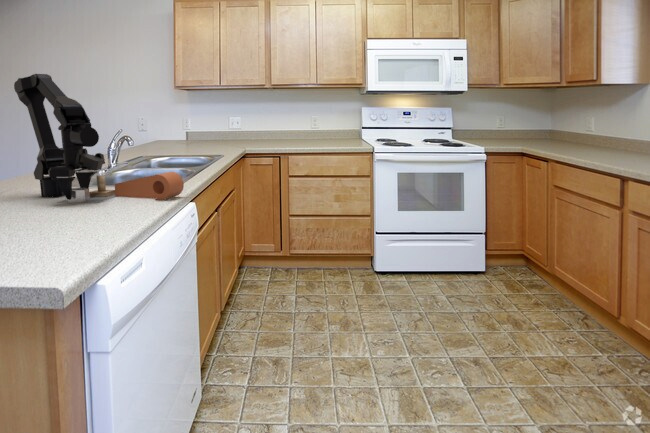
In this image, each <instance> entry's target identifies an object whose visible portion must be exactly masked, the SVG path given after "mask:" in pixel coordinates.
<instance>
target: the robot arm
mask: <svg viewBox="0 0 650 433" xmlns="http://www.w3.org/2000/svg"><path fill="white" fill-rule="evenodd" d="M13 84H14V85H13V88H14V92H15V93H16V94H17V97H18V100H19V101H20V102H21V103H22V104H23V105H25V107H26V108H27V111H28V114H29V117H30V121H31V124H32V127H33V130H34V134H35V137H36V138H35V139H36V141H37V144H38V148H39V152H38V154H37V156H36V161H37V164H36V166H35V169H34V171H33V176H34V180H39V185H40V193H41V194H40V195H41V196H39V198H56V199H57V198H60V197H64V198H65V197H66V198H67V200H71V197H72V188H73V181H74V180H75V179H77V182H78V184H79V188H89V189H90V184H91V179H92V177H93V176H94V175H96V174H97V173H98V171H99V170H102V168H103V165H105V164H106V161H105V160H106V159H105V155H104V153H102V152H97V153H95V154H89V151H88V149H87V147H88V148H92V147H95V146H96V145H97V144H98V142H99V138H100V136H99V135H100V134H99V133H98V131H97V130H96V129H95V128H93V127H92V123H91V119H90V118H89V116H88V114H87V112H86V110H85V109H84V107H83V105H82V104H81V103H80V102H79V101H77V100H76V99H74V98H70V97H68V96H67V95H66V94H65V93H64V92H63V90H61V87H59V86H58V85H57V84H56V82H54V80H53V79H52V76H51V75H50V74H47V73H34V74H31V75H29V76H25V77H18V78H17V80H16V81H15V82H14V83H13ZM45 99H46V100H47V101H48V102H49V104H51V106H52V108H53V112H52V114H53V115H54V118H55V119H56V121H57V122H58V123H59V124H60V125H58V128H57V130H58V131H60V135H61V145H62V147H59V146H58V145H57V144H56V140H55V138H54V135H53V130H52V127H51V124H50V121H49V118H48V114H47V112H46V111H47V110H46V107H45V104H44V102H45ZM85 147H86V148H85Z"/></svg>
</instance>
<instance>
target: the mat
mask: <svg viewBox="0 0 650 433" xmlns="http://www.w3.org/2000/svg"><path fill="white" fill-rule="evenodd" d="M117 197H118V196H115V195H112V196H109V197H90V200H88V201H84V202H66V201H65V199H64V200H61V201H57V202H56V203H59V204H62V203H63V204H64V203H65V204H100V203H102V202H105V201H108V200H111V199H114V198H117Z"/></svg>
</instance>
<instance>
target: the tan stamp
mask: <svg viewBox="0 0 650 433" xmlns="http://www.w3.org/2000/svg"><path fill="white" fill-rule="evenodd" d="M105 175H106V174H105ZM105 175H104V174H99V175H96V184H97V189H95V190H92V191H89V194H90V197H109V196H112V195H115V189H106V188H107V186H106V176H105Z"/></svg>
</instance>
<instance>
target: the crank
mask: <svg viewBox="0 0 650 433" xmlns="http://www.w3.org/2000/svg"><path fill="white" fill-rule="evenodd" d="M114 190H115V196H117V197H121V198H122V197H123V198H138V199H139V198H140V199H141V198H142V199H143V198H144V199H154V200H155V201H163V200H167V199H170V198H173V197H174V198H175V197H176V196H177V197H178V196H179V195H180V194H181V193H182V192H184V191H183V190H184V180H183V178H182V176H181V175H180V174H179V173H178V172H175V171H168V172H163V173H159V174H155V175H149V176H144V177H141V178H135V179H130V180H127V181H126V180H125V181H121V182H118V183H114Z"/></svg>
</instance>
